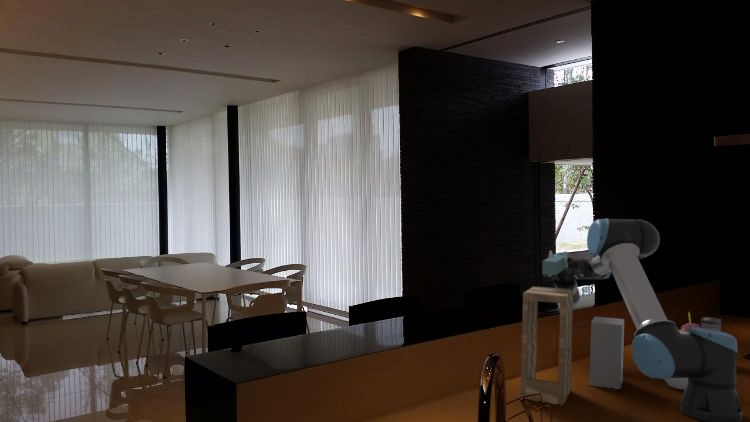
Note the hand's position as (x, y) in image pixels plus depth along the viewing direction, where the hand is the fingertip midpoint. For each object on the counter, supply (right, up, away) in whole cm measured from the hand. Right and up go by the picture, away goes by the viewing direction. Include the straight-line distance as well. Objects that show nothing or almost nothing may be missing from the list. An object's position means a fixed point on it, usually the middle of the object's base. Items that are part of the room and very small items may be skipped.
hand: (557, 254), depth 200 cm
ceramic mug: (+63, -41, +40) cm, 85 cm away
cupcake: (+74, -40, +59) cm, 103 cm away
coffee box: (+61, -41, +22) cm, 77 cm away
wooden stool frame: (-8, -41, -17) cm, 45 cm away
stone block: (+14, -41, -4) cm, 43 cm away
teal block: (-2, -5, -3) cm, 6 cm away
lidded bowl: (+37, -41, -6) cm, 56 cm away
